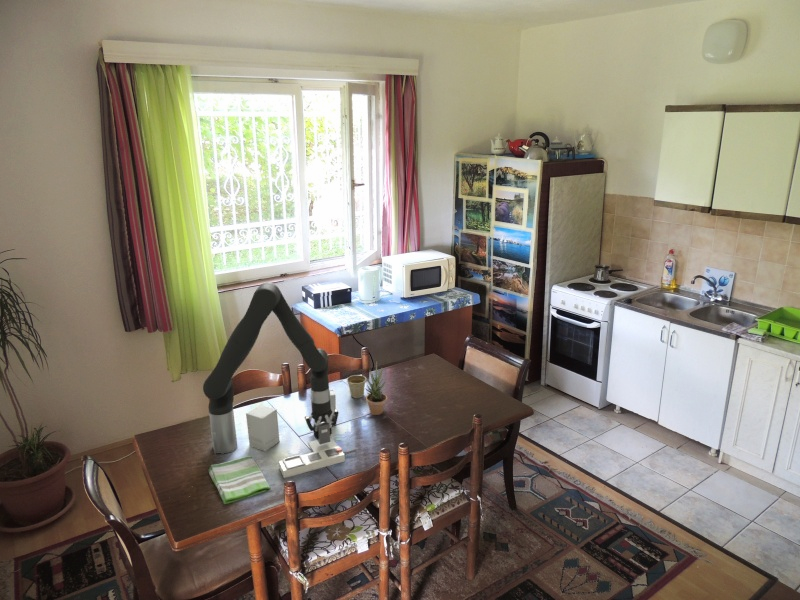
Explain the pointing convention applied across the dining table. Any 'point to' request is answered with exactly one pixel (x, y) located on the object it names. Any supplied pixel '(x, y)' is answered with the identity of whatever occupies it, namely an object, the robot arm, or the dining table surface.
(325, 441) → the charger
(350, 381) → the flower pot
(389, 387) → the dining table surface
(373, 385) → the potted plant
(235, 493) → the dish towel
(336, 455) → the power strip
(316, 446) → the mat
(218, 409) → the robot arm
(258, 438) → the supplement box
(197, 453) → the dining table surface
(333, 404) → the skincare box
